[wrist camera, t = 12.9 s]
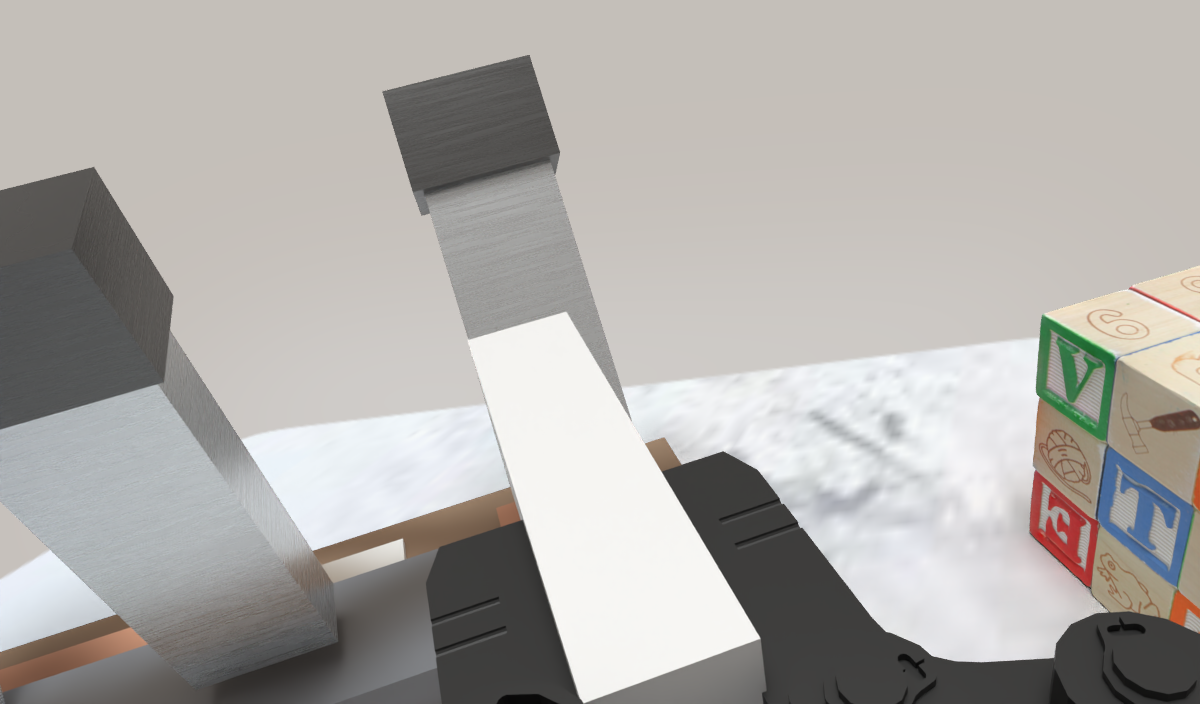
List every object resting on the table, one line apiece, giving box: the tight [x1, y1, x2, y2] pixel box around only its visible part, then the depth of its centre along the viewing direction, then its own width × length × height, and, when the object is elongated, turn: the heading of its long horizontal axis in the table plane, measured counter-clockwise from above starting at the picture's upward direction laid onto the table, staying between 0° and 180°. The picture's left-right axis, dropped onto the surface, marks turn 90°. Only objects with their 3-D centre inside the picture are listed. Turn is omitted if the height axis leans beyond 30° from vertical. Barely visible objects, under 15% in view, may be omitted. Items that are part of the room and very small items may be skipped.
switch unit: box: [0, 438, 681, 704], centre depth 28 cm, size 16×30×5 cm, turn 105°
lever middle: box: [0, 167, 338, 690], centre depth 19 cm, size 3×5×14 cm, turn 106°
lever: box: [383, 55, 632, 421], centre depth 26 cm, size 3×5×14 cm
